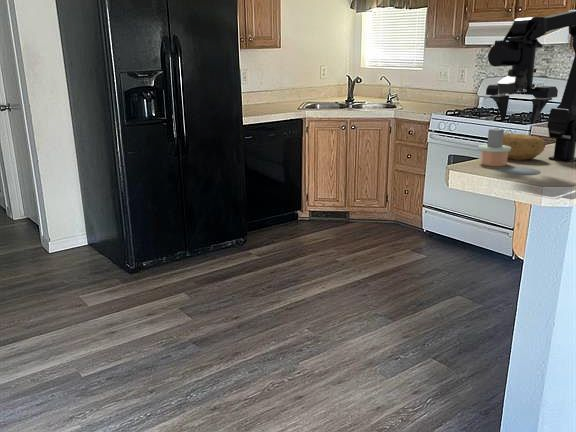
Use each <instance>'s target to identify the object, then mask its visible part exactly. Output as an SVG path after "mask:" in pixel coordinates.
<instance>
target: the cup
mask: <svg viewBox="0 0 576 432" xmlns="http://www.w3.org/2000/svg"><path fill="white" fill-rule="evenodd" d="M479 155H480V157H479V163H480V164H481V165H485V166H490V167H491V166H492V167H502V166H503V167H504V166H507V164H508V159H509V158H508V152H487V151H481V150H480V154H479Z"/></svg>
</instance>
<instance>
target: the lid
mask: <svg viewBox="0 0 576 432" xmlns="http://www.w3.org/2000/svg"><path fill="white" fill-rule="evenodd" d="M504 132H505V129H502V128H490V129H488V133H487V143H486V144H480V145H478V148H477V149H478V151H480V152H481V151H487V152H509V151H511V147H510V146H506V145H502V144H503V134H504Z"/></svg>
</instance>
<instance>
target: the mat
mask: <svg viewBox="0 0 576 432" xmlns="http://www.w3.org/2000/svg"><path fill="white" fill-rule="evenodd" d="M497 171H498V172H500V173H503V174H506V175H515V176H536V175H541V173H542V171H540V170H538V169H536V168H535V169H534V168H532V167H523V166H503V167H502V166H501V167H499V168H497Z"/></svg>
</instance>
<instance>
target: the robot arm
mask: <svg viewBox="0 0 576 432" xmlns="http://www.w3.org/2000/svg"><path fill="white" fill-rule="evenodd" d="M567 27H568V34H569V35H570V36H571V37H572V39H573V40H572V49H573V52H574V58H573V61H572V64H571V67H570V70H569V74H568V77H567V82H566V83H565V88H564V91H563V95H562V98H561V101H560V103H559V105H557V107H552V108H551V109H550V111H549V116H548V118H547V120H546V122H547V125H546V126H547V131H548V136H549V138H550V139H555V141H554V142H555V143H554V151H553V156H548V159H549V160H555V161H561V162H574V161H576V156H575V155H576V9H569V10H568V11H565V12H561V13H555V14H551V15H547V16H546V15H545V16H530V17H529V16H528V17H517V18H516V19H514V21H513V22H512V25H511V27H510V28H509V30H508V32H507V33H506V35H505V36H504V38H503V39H502V40H499V39H498V40H495V41H494V45H492V47H491V48H490V50H489V52H488V53H487V59H488V63H489V65H491V66H492V67H494V68H495V67H497V68H498V67H511V68H510V69H508V71H507V75H506V76H505V77H502V78H501V79H500V80H499V81H497V83H496V84H489V85H488V86H487V87H486V89H485V95H486V96H489V98H490V99H492V100H493V101H494V102H495V103H496V106H497V109H498V113H499V117H500V119H501V121H505V120H506V117H507V114H508V113H507V112H508V108H509V107H508V106H509V101H510V100H509V99H510V95H524V96H525V95H526V96H529V95H530V96H533V97H534V98H530V99H531V102H532V109H531V118H530V121H531V123H530V124H535V123H536V121H537V119H538V118H539V116H540V114H541V113H542V111H543V109H544V108H545V106H546V105H547V103H548V102H549V101H552V100H553V98H557V97H558V93H559V92H558V91H559V90H558V88H557V86H549V85H548V86H547V85H541V86H536V84H535V83H533V82H534V81H533V80H534V73H537V68H535V61H536V53H537V49H539V48H540V49H542V47H543V45H542V43H541V42H539V40H538V39H539V38H541V37H543V36H545V35H546V33H548V32H551V31H555V30H559V29H564V28H567Z"/></svg>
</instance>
